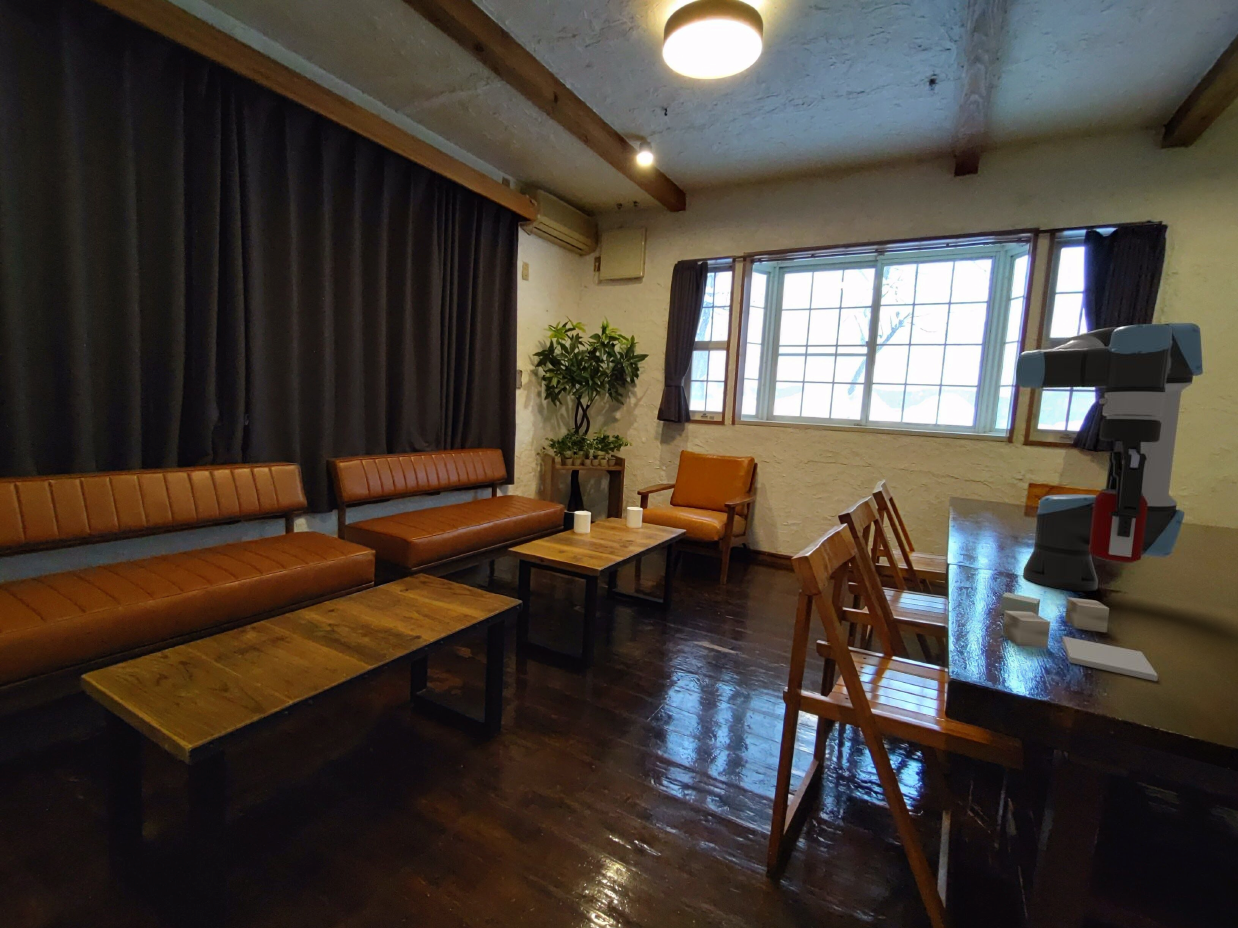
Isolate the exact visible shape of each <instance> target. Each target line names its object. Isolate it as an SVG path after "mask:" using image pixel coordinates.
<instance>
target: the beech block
mask: <svg viewBox="0 0 1238 928" xmlns="http://www.w3.org/2000/svg"><path fill="white" fill-rule="evenodd" d="M1065 608H1066V609H1065V617H1064V621H1065V622H1067V623H1068V624H1069V625H1071V626H1072V627H1074V628H1075V629H1076V630H1077V629H1078V630H1083V631H1084V630H1085V631H1092V632H1100V633H1101V632H1102V633H1107V632H1108V622H1109V615H1110V613H1109V612H1110V608H1109V607H1107V606H1106V605H1104V604H1103V603H1102V602H1100V601H1097V600H1093V599H1087V598H1086V599H1084V598H1077V597H1075V598H1074V597H1068V596H1067V598H1066V607H1065Z"/></svg>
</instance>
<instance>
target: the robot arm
mask: <svg viewBox="0 0 1238 928" xmlns="http://www.w3.org/2000/svg"><path fill="white" fill-rule="evenodd" d="M1201 334H1202V333H1201V328H1200V326H1199V325H1197V324H1196V323H1193V322H1168V323H1157V324H1156V323H1148V324H1147V323H1146V324H1143V323H1142V324H1133V325H1126V326H1120V327H1119V326H1118V327H1106V328H1101V329H1096V330H1092V331H1087V332H1085V333H1080V334H1077V335H1074V336H1071V337H1069V338H1067V339H1065V340H1063V341H1062V342H1060V344H1059V345H1057V347H1053V348H1051V349H1035V350H1026V351H1023V352H1021V353H1020V355H1019V356H1018V359H1017V362H1016V367H1015V380H1016V384H1017V385H1018V386H1019V387H1020V388H1024V389H1026V388H1027V389H1036V390H1039V389H1055V388H1057V389H1059V388H1064V389H1065V388H1104V397H1103V398H1100V399H1099V400H1098V403H1099V404H1102V405H1103V406H1102V415H1103V416H1104V417H1106V418H1105V419H1104V418H1103V419H1102V420H1100V428H1099V439H1100V440H1101V441H1108V442H1112V441H1113V442H1115V444H1114V445H1115V446H1114V450H1113V451H1112V450H1111V451H1109V453H1108V468H1107V476H1106V483H1105V489H1116V510H1115V512H1110V513H1109V515H1110V516H1113V519H1112V528H1111V536H1110V545H1109V554H1112V555H1119V556H1127V557H1131V553H1132V544H1133V536H1134V528H1135V519H1136V516H1139V515H1140V504H1141V494H1142V493H1143V496H1144V498H1145V499H1146V501H1147V503H1148V506H1147V515H1146V524H1145V532H1144V540H1143V547H1142V554H1141V557H1146V556H1147V557H1155V558H1166V557H1169V556H1171V554H1172V553H1173V551H1174V550H1175V549H1174V548H1175V546H1176V543H1177V541H1178V537H1179V534H1180V531H1181V528H1182V524H1183V521H1184V518H1185V514H1186V513H1185V511H1183V510H1181V509H1178V508H1177V506H1178V505H1177V504H1178V502H1177V501H1176V499H1174V498H1173V497H1172V496H1170V487H1171V486H1170V485H1171V478H1172V471H1173V470H1172V469H1173V461H1174V454H1175V453H1174V452H1175V446H1176V445H1175V443H1176V437H1177V429H1178V420H1179V413H1180V405H1181V398H1182V392H1183V390H1185V389H1186V388H1188V387H1190V386H1191V385H1192V384H1193V379H1194V376H1195V377H1198V376H1201V375H1203V374H1204V373H1203V372H1204V369H1203V352H1202V351H1203V350H1202V337H1201V336H1202V335H1201ZM1096 496H1097V495H1094V494H1053V495H1050V494H1049V495H1046V496H1043V497H1041V498H1040V499H1039V503H1038V509H1037V512H1036V515H1037V516H1036V526H1035V538H1034V547H1033V551H1032V552H1031V554H1030V556H1029V558H1028V559H1027V562H1026V563H1025V565H1024V568H1023V573H1022V577H1023V579H1026V580H1027V581H1029V582H1032V583H1035V584H1038V585H1041V586H1046V587H1049V588H1054V589H1059V590H1060V589H1061V590H1067V591H1076V592H1092V591H1093V592H1094V591H1096V590H1098V584H1099V580H1098V576H1097V574H1096V570H1095V566H1094V563H1093V559H1092V556H1093V554H1091V553H1090V552H1089V546H1090V536H1091V526H1092V518H1093V509H1094V502H1095V497H1096Z"/></svg>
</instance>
